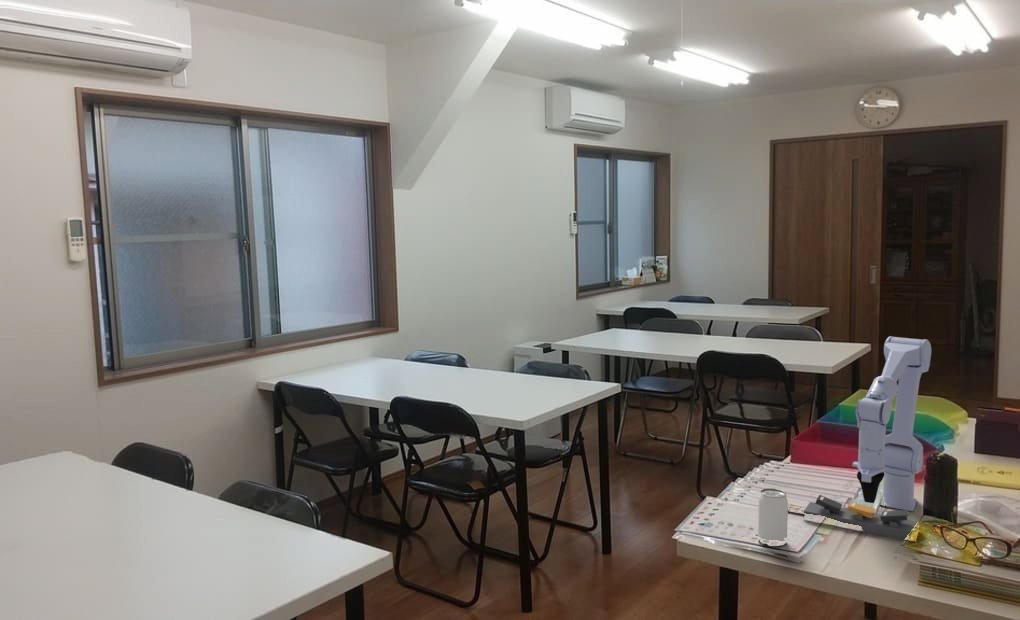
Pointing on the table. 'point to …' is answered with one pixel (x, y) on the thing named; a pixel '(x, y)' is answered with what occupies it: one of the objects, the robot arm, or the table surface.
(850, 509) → the orange rocker
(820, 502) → the black rocker
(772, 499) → the can
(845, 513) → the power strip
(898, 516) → the black rocker
